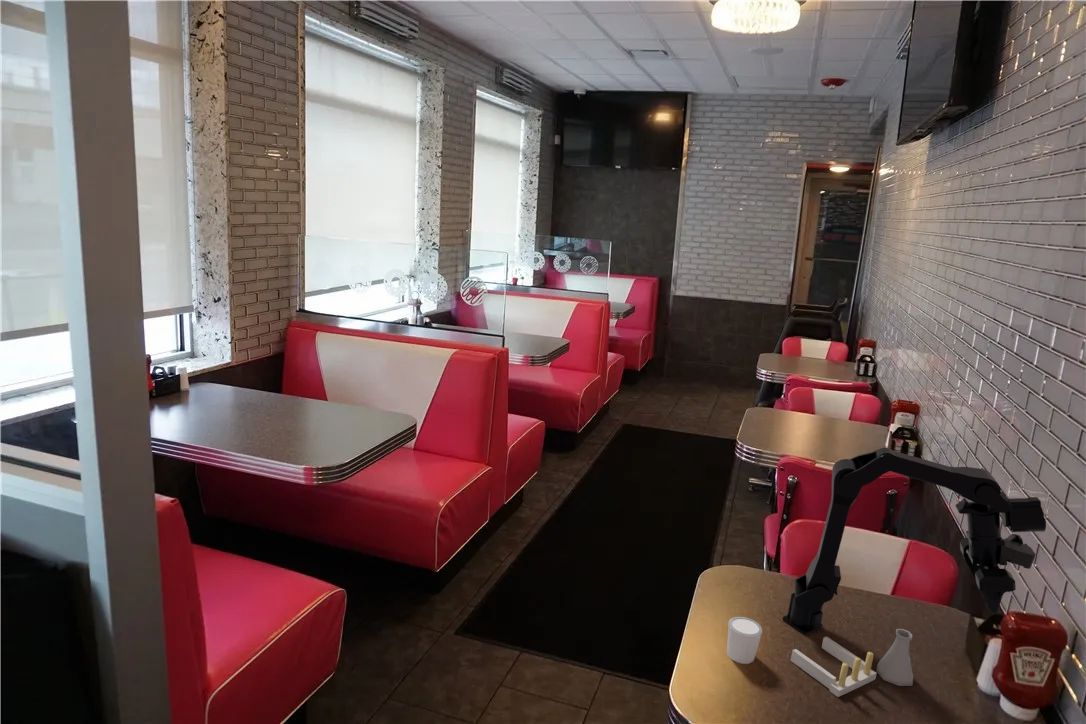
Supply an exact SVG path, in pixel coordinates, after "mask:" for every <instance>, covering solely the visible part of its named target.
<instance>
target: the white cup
mask: <svg viewBox="0 0 1086 724" xmlns="http://www.w3.org/2000/svg"><path fill="white" fill-rule="evenodd" d="M727 628H728V629H727V630H728V631H727V644H726V645H727V646H726V654H727V656H728V658H729V659H731V660H732V661H734V662H736V663H738V664H742V665H749V664H750V663H751V664H752V663H754V661H755V658H756V654H757V651H758V647H759V644H760V642H761V639H762V638H761V636H762V634H763V627H762V626H761V624H759V623H758V622H757V621H756V620H753V619H751V618H749V617H745V616H744V617H743V616H734V617H732V618H730V619H729V620H728V627H727Z"/></svg>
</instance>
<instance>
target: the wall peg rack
mask: <svg viewBox="0 0 1086 724" xmlns="http://www.w3.org/2000/svg"><path fill="white" fill-rule="evenodd" d="M821 649H823V650H824V651H825V652H827V653H828V654H830V655H832V656H833V657H835V658H836V659H837V660H839V661H840V662H842V664H841V669H840V673H839V679H838V680H837V676H834V675H833V674H831V672H829V671H827V669H824V668H823V667H822V666H821V665H820V664H817V663H816V661H814V660H812V659H811V658H809V657H808V656H806V655H805V654H804V653H803V652H801V651H799V650H798V649H796V648H795V649H792V652H791V656H790V661H791V662H792V663H793V664H794V665H796V666H798V668H800V670H801V669H802V670H803V671H804V672H806V673H807V675H810V676H811V677H812V678H813V679H815V680H816V681H818V682H819V683H820V684H822V685H823V686H825V687H826V688H827V689H829V690H828V691H829V692H830V693H832V694H833V695H834V696H836V697H837V698H839V697H841V696H842V697H843V695H845V694H848V693H850V692H852V691H854V690H856V689H858V688H860V687H863V686H864V685H867V684H869V683H871V682H873V681H875V680H876V677H877V674H878V673H877V671H874V670H872V665H873V660H874V656H875V655H874V653H873V652H872V651H868V652H867V653H866V657H865V661H864V660H862V658H860V657H858V656H857V655H855V654H854V653H852V652H851V651H849V650H848V649H847V648H845V647H844V646H841V645H840V644H838V643H837V642H836V641H834V640H832V639H831V638H830V637H828V636H824V637H823V638H822V644H821ZM849 668H850V669H852V671H851V674H850V675H848V672H849ZM847 675H848V676H847Z"/></svg>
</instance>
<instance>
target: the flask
mask: <svg viewBox="0 0 1086 724" xmlns="http://www.w3.org/2000/svg"><path fill="white" fill-rule="evenodd" d="M895 636H896V637H895V639H894V641H893V643H892V645H891V646H890V648H889V649H888V651H887V652H886V653H885V654H884V655H883V657H882V658H881V659H880V660H879V662H878V663H877V665H876V671H875V672H876V673H877V674H878V675H879V676H880V677H881V679H882V680H883V681H886V682H888V683H891V684H893V685H896V686H898V687H906V686H907V687H908V686H909V687H912V686H913V684H914V683H913V682H914V675H913V670H912V663H911V657H910V642H911V641H912V640H913V634H912V633H911V632H910V631H909V630H906V629H904V628H896V629H895Z"/></svg>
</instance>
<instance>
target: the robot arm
mask: <svg viewBox="0 0 1086 724" xmlns="http://www.w3.org/2000/svg"><path fill="white" fill-rule="evenodd" d="M831 472H832V473H831V500H830V503H829V507H828V511H827V515H826V518H825V522H824V527H823V531H822V535H821V538H820V543H819V547H818V550H817V554H816V556H815V557H814V558H813V559H812V561H811V562H810V564H809V566H808V569H807V571H806V573H805V574H803V575H801V576H799V577H797V578H795V579H794V593H793V592H792V593H791V595H790V600H789V605H788V611H787V615H784V616H782V620H783V621H784V622H785V623H787V624H788V625H790V626H792V627H793V628H794V629H796V630H797V631H799V632H801V633H802V634H804V635H807V634H810V633H812V632H814V631H817V630H819V629H822V628H823V626H824V624H822V619H823V616H824V614H823V606H824V604H825V603H827V602H831V601H832V600H833V598H834V597H835V596H838V587H839V584H840V583H841V581H842V574H841V567H840V565H837V564H836V562H837V559H838V558H837V557H838V554H839V550H840V547H841V543H842V539H843V535H844V531H845V528H846V523H847V519H848V517H849V513H850V509H851V507H852V505H853V504H854V503H855V501H857V498H858V496H859V494H860V492H861V491H862V488H863V487H864V486H867V485H869V484H872V483H873V482H874V481H876V480H877V479H878V478H880V477H881V476H883V475H884V474H886V473H889V472H890V473H894V474H898V475H902V476H905V477H908V478H912V479H915V480H919V481H921V482H926V483H929V484H931V485H932V484H933V485H936V486H938V487H942V488H946V489H948V490H951V491H953V493H956V494H957V495H959V496H961V497H963V498H962V500H961V501H959V502H957V503H956V504H955V508H956V510H957V512H958V513H959V514H961V515H964V514H966V518H967V530H966V531H965V532H966V534H965V536H966V537H964V538H962V540H960V541H959V547H960V548H959V549H960V552H961V554H962V557H963V559H964V561H965V563H966V566H967V567H968V569H969V571H970V573H971V575H972V577H973V579H974V582H975V583H976V585H977V588H978V591H980V594H981V596H982V598H983V599H984V601H985V604H986V605H987V608H988V610H989V611H990V613H992V614H997V613H998V611H999V608H1000V605H1001V602H1002V599H1003V596H1004V594H1005V593H1010V592H1015V591H1016V579H1014V577H1013V575H1012V573H1011V572H1010V571H1008V569H1006V568H1000V567H999V566H998V565H1000V566H1008V563H1009V564H1012V565H1015V566H1016V565H1017V566H1021V567H1023V568H1024V569H1026V570H1027V569H1031V567H1032V565H1033V564H1034V561H1035V558H1036V556H1037V555H1036V552H1035V551H1034V550H1033V548H1032V546H1029V545H1028V544H1027V543H1024V542H1023V538H1022V536H1021V535H1020V534H1016V533H1024V532H1025V533H1026V532H1027V533H1029V532H1030V533H1034V532H1035V533H1037V532H1038V533H1039V532H1040V533H1044V532H1045V531H1046V528H1047V521H1046V518H1045V515H1044V511H1043V508H1042V501H1041V500H1040V499H1039V498H1038V496H1030V497H1023V498H1008V497H1007V496H1006V494H1005V493H1004V491H1002V489H1001V486H1000V485H999V483H998V482H997V480H996V478H995V477H994V476H993V475H992V474H991V472H990V471H988V470H986V469H983V468H977V467H970V466H969V467H968V466H949V465H945V464H942V463H938V462H935V461H931V460H928V459H923V458H920V457H916V456H913V455H909V454H906V453H903V452H899V451H896V450H893V449H891V448H889V447H880V448H879V449H876V450H874V451H871V452H867V453H863V454H859V455H856V456H854V457H851V458H850V459H849V458H843V459H839V460H838V461H836V462H835V463H834V464H833V466H832V470H831ZM1000 518H1001V519H1000ZM1001 522H1002V526H1003V527H1004V528H1008V530H1009V531H1010V532H1011V534H1009V536H1008V537H1005V538H1003V537H1002V533H1001Z"/></svg>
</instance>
